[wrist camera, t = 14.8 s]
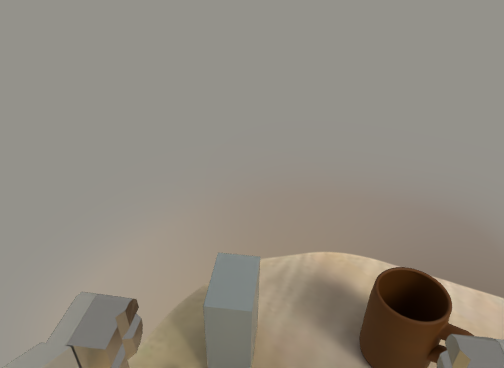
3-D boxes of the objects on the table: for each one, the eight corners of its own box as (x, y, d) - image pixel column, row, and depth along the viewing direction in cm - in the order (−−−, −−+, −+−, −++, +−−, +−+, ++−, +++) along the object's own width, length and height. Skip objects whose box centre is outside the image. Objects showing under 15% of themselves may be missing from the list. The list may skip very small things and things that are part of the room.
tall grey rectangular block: (257, 325, 47) (260, 256, 41) (249, 382, 41) (252, 311, 35) (220, 321, 47) (218, 252, 41) (208, 376, 42) (203, 306, 36)
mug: (481, 388, 41) (516, 330, 36) (441, 435, 37) (473, 378, 32) (385, 312, 49) (402, 255, 44) (343, 344, 45) (357, 286, 40)
